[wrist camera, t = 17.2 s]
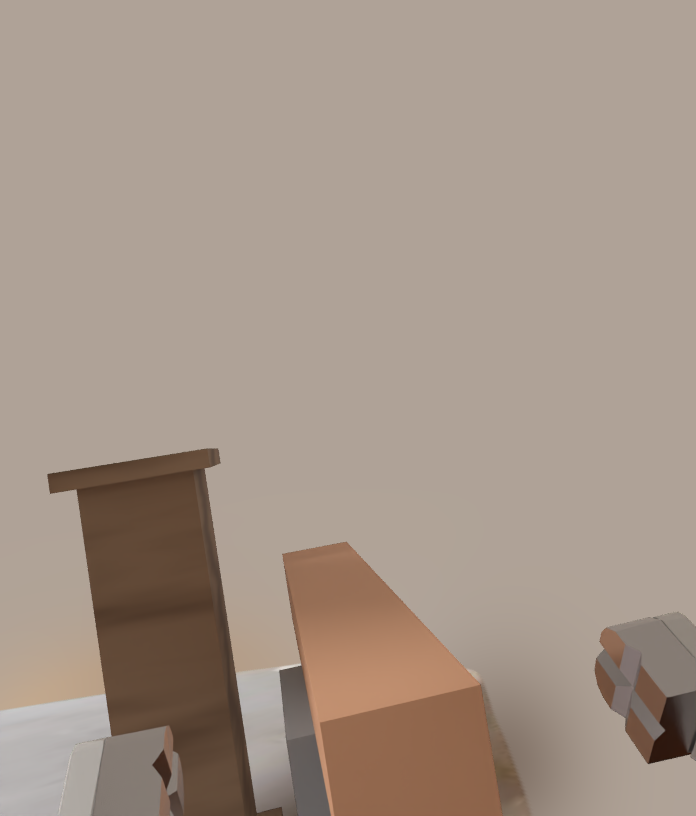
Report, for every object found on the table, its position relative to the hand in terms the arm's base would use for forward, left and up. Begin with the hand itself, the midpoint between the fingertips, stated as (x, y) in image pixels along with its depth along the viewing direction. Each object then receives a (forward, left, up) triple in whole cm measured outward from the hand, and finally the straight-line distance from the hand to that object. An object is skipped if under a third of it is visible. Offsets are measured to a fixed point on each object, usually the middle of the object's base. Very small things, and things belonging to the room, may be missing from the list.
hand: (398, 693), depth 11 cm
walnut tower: (-23, +15, -21) cm, 34 cm away
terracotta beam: (-9, +12, -6) cm, 16 cm away
